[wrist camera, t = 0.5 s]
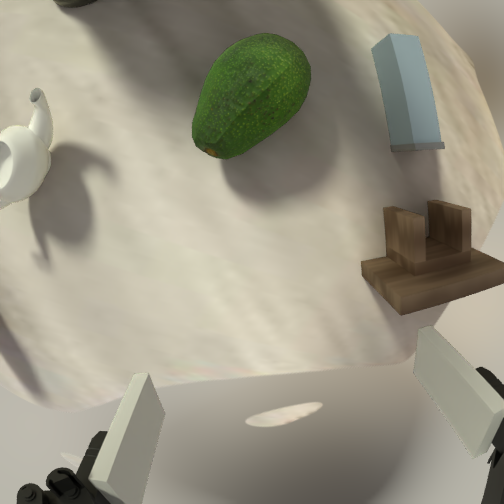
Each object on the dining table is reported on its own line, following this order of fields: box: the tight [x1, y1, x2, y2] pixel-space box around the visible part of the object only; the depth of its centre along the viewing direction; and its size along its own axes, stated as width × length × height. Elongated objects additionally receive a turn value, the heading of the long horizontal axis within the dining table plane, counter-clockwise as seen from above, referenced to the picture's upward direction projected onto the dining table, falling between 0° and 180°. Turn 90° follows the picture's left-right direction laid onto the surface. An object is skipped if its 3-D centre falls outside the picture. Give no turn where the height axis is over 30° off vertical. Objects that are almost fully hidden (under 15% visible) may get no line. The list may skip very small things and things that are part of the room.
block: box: [371, 34, 445, 152], centre depth 31 cm, size 14×4×6 cm, turn 10°
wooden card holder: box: [361, 200, 504, 315], centre depth 33 cm, size 8×16×12 cm, turn 100°
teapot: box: [0, 88, 53, 210], centre depth 31 cm, size 10×20×9 cm, turn 139°
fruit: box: [192, 33, 311, 159], centre depth 30 cm, size 15×10×10 cm, turn 140°
